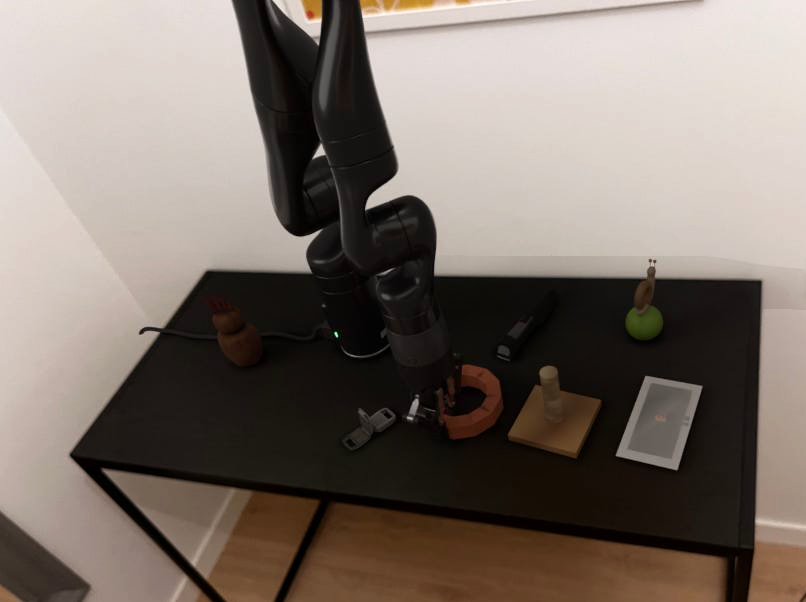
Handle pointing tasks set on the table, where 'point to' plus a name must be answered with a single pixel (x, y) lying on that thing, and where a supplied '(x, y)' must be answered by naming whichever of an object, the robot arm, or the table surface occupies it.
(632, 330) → the snail figurine
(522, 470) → the table surface
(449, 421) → the ring
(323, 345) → the table surface
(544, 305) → the electric trimmer
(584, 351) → the table surface
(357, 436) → the strap clip
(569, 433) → the stand
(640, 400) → the touchpad
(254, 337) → the wooden figurine
